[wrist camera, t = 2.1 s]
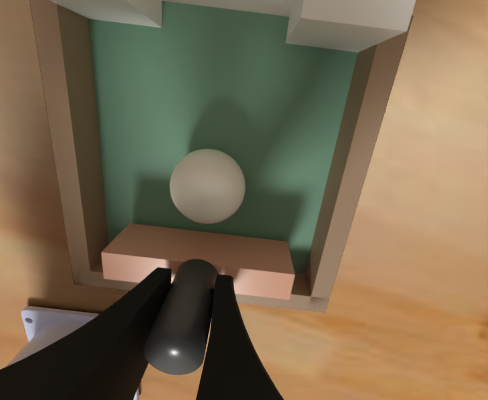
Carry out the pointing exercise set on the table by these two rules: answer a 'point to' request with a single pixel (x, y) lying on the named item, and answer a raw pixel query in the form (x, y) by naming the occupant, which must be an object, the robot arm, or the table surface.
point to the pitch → (218, 118)
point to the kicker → (194, 282)
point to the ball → (207, 186)
